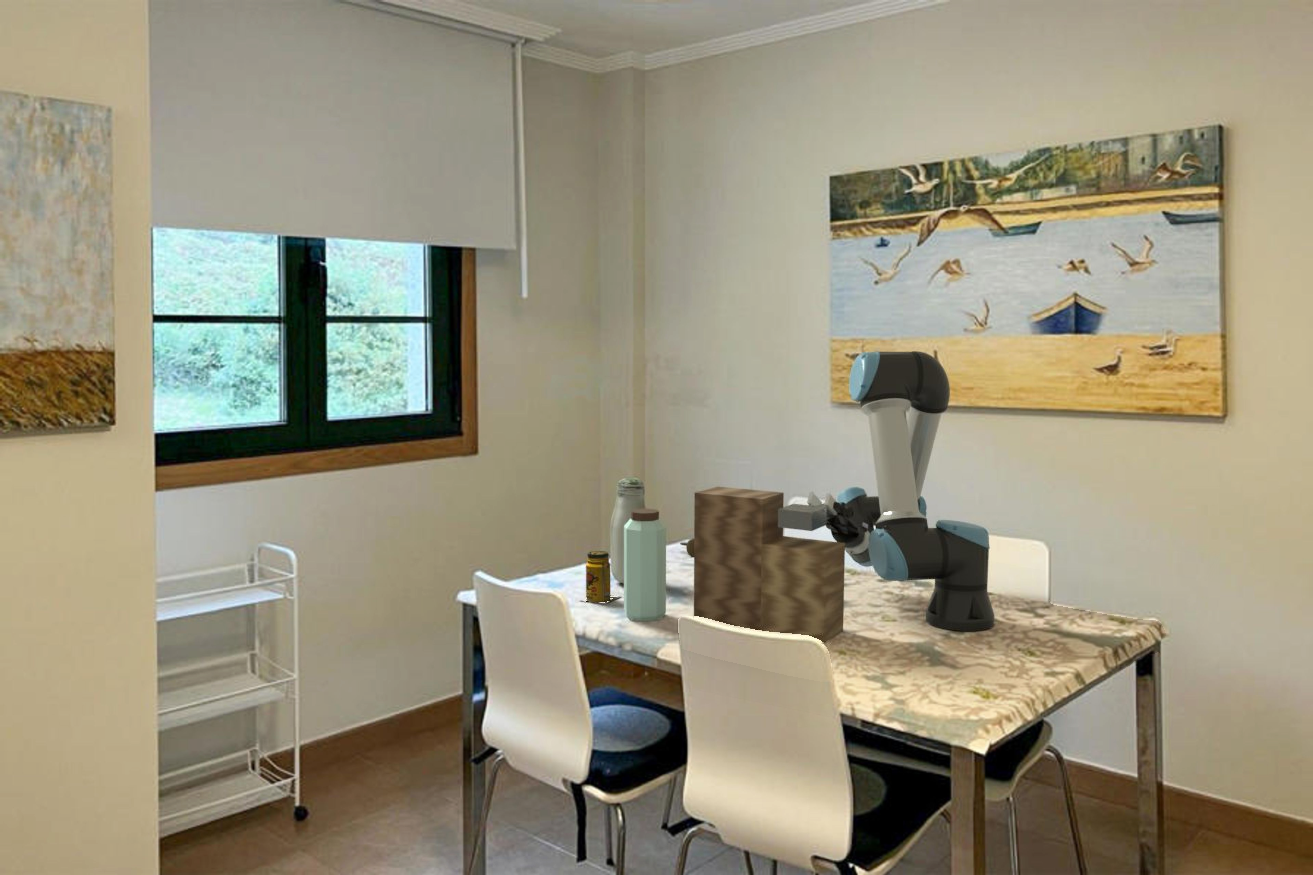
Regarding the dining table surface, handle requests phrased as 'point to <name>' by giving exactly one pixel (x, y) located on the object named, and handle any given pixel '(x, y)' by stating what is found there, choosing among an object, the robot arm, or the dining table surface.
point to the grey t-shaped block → (803, 516)
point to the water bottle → (644, 566)
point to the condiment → (598, 577)
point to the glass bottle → (623, 520)
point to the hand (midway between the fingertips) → (818, 498)
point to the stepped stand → (763, 567)
